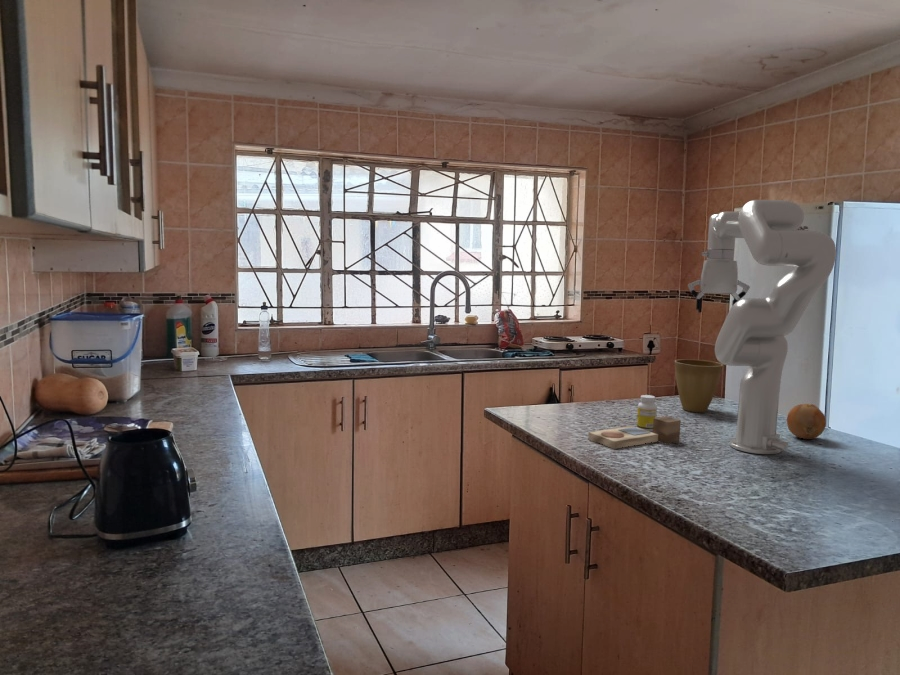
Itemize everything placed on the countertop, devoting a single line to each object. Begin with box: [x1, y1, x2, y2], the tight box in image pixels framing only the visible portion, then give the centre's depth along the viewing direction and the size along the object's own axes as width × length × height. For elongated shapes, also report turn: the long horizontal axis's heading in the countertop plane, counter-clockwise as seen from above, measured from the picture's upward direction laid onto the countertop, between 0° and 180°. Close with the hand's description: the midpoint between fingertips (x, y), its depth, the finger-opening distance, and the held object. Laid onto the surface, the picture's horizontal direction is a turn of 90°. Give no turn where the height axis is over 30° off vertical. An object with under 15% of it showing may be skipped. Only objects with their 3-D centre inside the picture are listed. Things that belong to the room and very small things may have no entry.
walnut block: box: [652, 415, 681, 445], centre depth 183 cm, size 5×5×6 cm
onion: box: [786, 403, 827, 440], centre depth 188 cm, size 10×10×10 cm
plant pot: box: [674, 358, 724, 413], centre depth 220 cm, size 15×15×16 cm
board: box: [587, 425, 659, 450], centre depth 182 cm, size 10×16×2 cm, turn 120°
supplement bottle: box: [636, 394, 658, 432], centre depth 194 cm, size 5×5×10 cm
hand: (716, 312), depth 201 cm, fingers open, 9 cm apart
